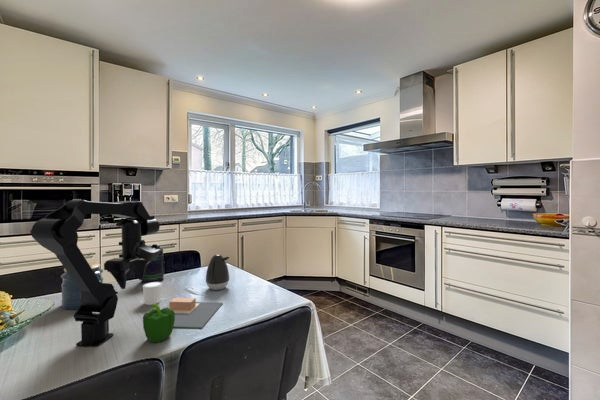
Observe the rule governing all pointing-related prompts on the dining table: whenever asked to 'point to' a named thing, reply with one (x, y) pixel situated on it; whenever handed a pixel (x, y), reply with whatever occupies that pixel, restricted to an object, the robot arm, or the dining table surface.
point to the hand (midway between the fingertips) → (132, 284)
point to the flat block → (182, 304)
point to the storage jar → (154, 270)
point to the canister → (75, 287)
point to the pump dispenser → (217, 273)
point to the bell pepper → (158, 323)
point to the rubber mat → (196, 315)
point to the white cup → (152, 292)
